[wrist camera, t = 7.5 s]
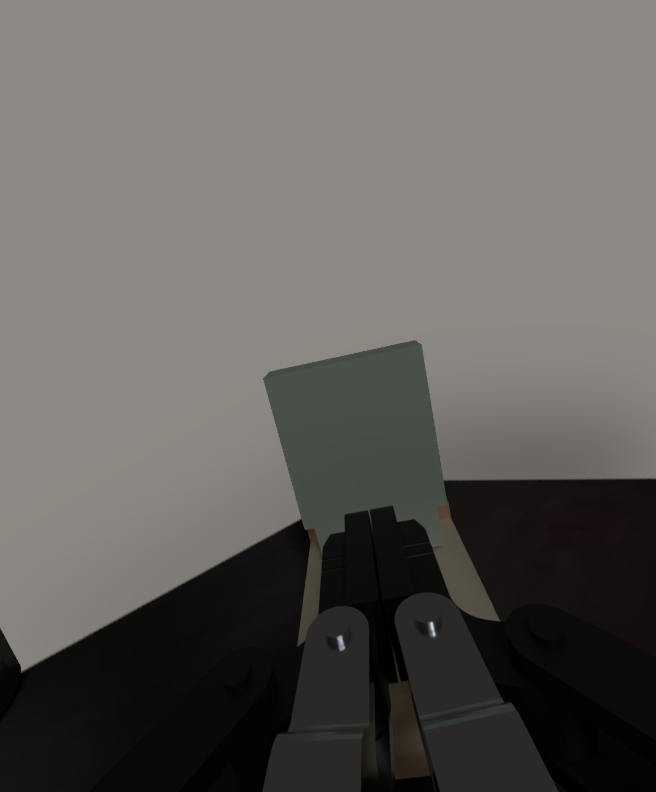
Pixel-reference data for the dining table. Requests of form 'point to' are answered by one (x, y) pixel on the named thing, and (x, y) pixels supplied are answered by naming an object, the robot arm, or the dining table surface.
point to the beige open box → (406, 733)
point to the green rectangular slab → (360, 438)
